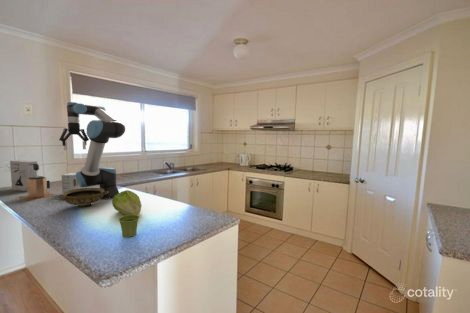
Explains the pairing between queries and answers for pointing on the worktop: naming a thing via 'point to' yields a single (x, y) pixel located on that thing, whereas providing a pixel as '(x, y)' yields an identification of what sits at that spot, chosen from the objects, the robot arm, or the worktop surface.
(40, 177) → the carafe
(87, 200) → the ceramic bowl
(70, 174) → the supplement box
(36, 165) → the plunger
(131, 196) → the lettuce
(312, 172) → the worktop surface
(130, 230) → the plant pot
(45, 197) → the trivet
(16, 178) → the cereal box
